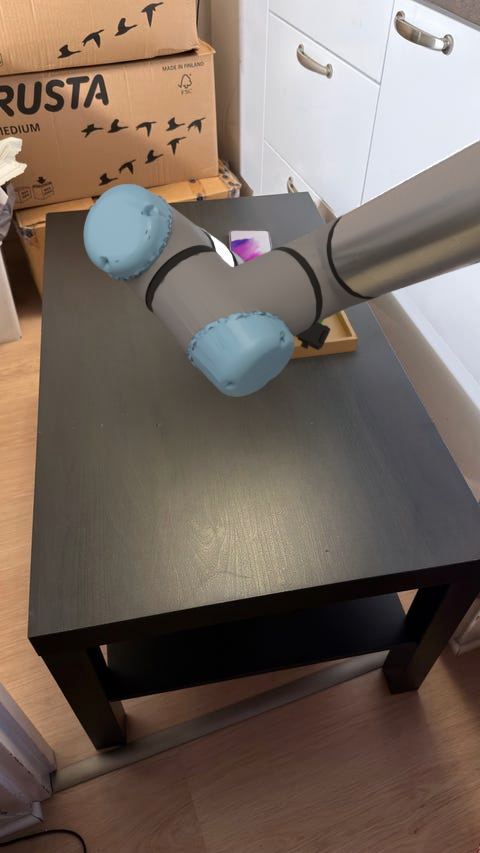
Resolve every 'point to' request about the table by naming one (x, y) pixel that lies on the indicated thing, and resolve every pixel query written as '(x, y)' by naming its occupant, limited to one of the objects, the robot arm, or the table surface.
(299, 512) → the table surface
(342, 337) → the square wooden tray
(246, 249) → the smartphone
